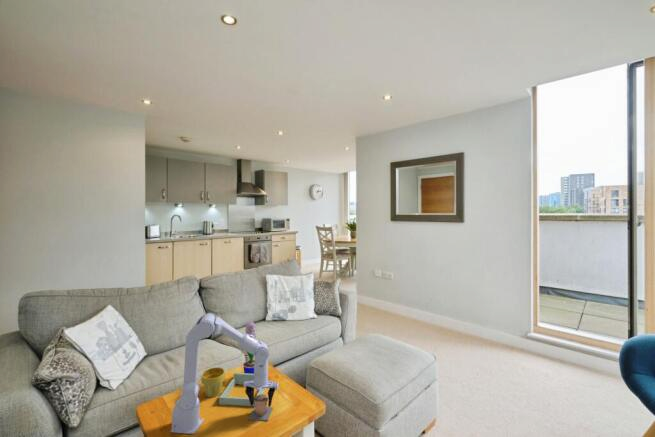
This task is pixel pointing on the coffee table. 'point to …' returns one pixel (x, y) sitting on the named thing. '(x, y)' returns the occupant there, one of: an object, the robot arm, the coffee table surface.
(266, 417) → the slate pad
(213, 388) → the plant pot
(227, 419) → the coffee table surface
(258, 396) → the terracotta pot
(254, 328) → the hyacinth
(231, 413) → the coffee table surface
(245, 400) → the frame
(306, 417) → the coffee table surface
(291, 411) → the coffee table surface
